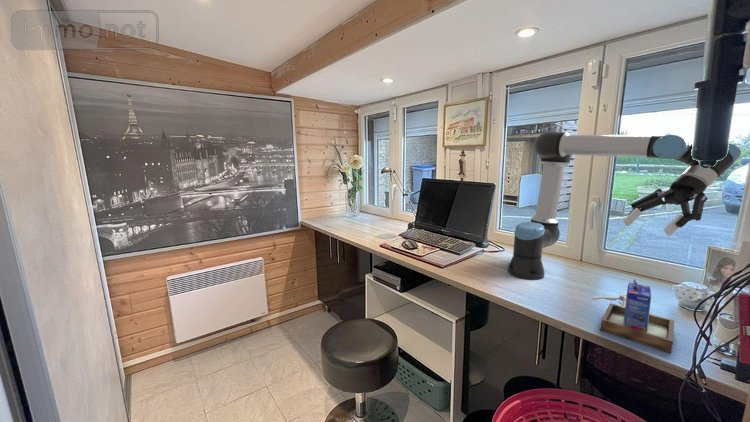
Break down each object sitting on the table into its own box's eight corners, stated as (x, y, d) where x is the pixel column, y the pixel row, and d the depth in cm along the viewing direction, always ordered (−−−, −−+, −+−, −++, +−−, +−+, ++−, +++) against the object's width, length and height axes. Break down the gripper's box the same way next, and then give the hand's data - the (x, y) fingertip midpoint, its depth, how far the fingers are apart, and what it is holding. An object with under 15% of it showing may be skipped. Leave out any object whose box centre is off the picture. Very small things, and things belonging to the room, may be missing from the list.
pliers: (592, 295, 111) (616, 289, 117) (591, 299, 111) (615, 292, 117) (622, 307, 102) (646, 299, 108) (621, 311, 102) (646, 303, 108)
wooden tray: (600, 330, 90) (601, 319, 90) (608, 312, 101) (610, 303, 100) (670, 353, 79) (673, 341, 79) (672, 330, 90) (674, 320, 89)
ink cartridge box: (623, 316, 96) (629, 275, 93) (645, 322, 92) (653, 279, 90) (622, 329, 88) (628, 284, 86) (646, 336, 85) (654, 289, 82)
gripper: (749, 194, 85) (694, 245, 86) (658, 187, 109) (616, 227, 110) (737, 176, 83) (681, 228, 84) (648, 172, 108) (605, 213, 109)
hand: (644, 227), depth 97 cm, fingers open, 13 cm apart
